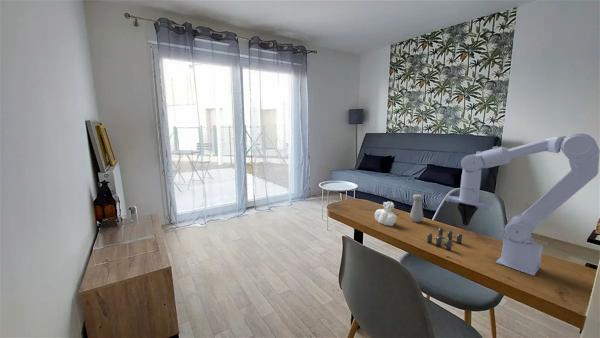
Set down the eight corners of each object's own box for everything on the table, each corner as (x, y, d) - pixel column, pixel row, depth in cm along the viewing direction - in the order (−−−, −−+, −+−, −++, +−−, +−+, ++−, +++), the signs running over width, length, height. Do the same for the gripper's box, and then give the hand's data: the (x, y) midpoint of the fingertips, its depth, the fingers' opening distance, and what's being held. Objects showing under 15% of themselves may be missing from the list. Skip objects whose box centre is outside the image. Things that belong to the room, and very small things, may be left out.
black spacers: (462, 243, 97) (463, 234, 96) (449, 251, 91) (450, 241, 90) (439, 235, 104) (439, 227, 103) (426, 242, 98) (427, 233, 97)
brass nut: (450, 243, 97) (451, 238, 97) (445, 246, 95) (446, 241, 94) (437, 238, 101) (437, 233, 101) (432, 241, 99) (432, 236, 99)
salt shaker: (424, 223, 117) (426, 196, 115) (411, 222, 118) (413, 196, 116) (420, 219, 123) (422, 193, 121) (408, 218, 124) (410, 193, 122)
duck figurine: (396, 231, 113) (407, 210, 115) (388, 224, 109) (399, 202, 112) (376, 223, 123) (386, 203, 126) (367, 216, 120) (378, 196, 122)
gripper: (498, 190, 86) (493, 228, 88) (453, 183, 97) (449, 216, 99) (491, 193, 81) (486, 233, 84) (444, 185, 93) (441, 220, 95)
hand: (465, 224), depth 91 cm, fingers closed
